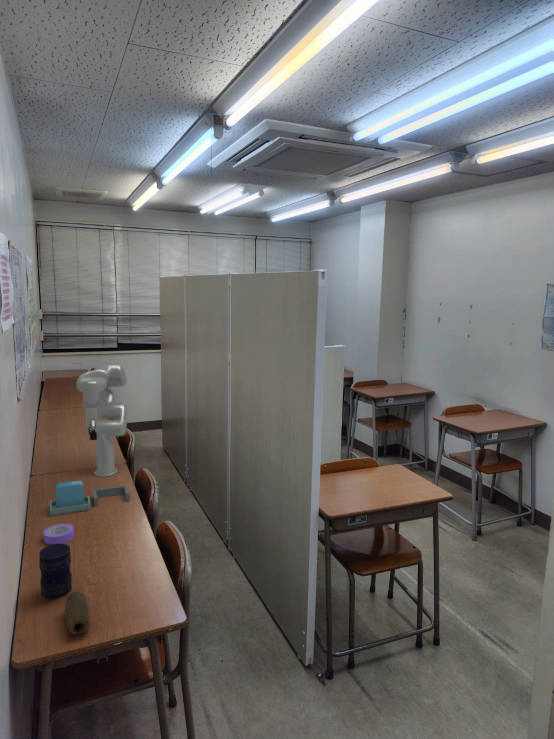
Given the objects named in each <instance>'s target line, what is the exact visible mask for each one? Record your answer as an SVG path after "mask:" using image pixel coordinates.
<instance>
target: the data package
mask: <svg viewBox="0 0 554 739" xmlns="http://www.w3.org/2000/svg"><path fill="white" fill-rule="evenodd" d="M83 482H84V481H82V480H76V481H75V480H74V481H66V482H60V483H57V484H56V485H55V500H56V507H57V508H63V507H70V506H77V505H83V504H84V496H85V495H84V483H83Z"/></svg>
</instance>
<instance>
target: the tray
mask: <svg viewBox="0 0 554 739" xmlns="http://www.w3.org/2000/svg"><path fill="white" fill-rule="evenodd" d="M91 509H92V508H91V498H90V495H84V504H83V505H77V506H70V507H63V508H57V507H56V499H55V500H50V501H49V517H54V516H61V515H67V514H74V512H75V513H80V512H87V511H91Z"/></svg>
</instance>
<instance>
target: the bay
mask: <svg viewBox="0 0 554 739" xmlns="http://www.w3.org/2000/svg"><path fill="white" fill-rule="evenodd" d="M119 495H125V496H124V498H126V499H125V501H126V502H130V501H129V500H130V499H131V497H130V496H131V495H130V491H129V489H128V485H127V484H125V485H118V486H111V487H105V488H97V489H92V502H93V505H94V507H98V506H99V505H98V504H99V502H98V501H99V500H98V498H99V499H100V498H106V497H113V496H119Z"/></svg>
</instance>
